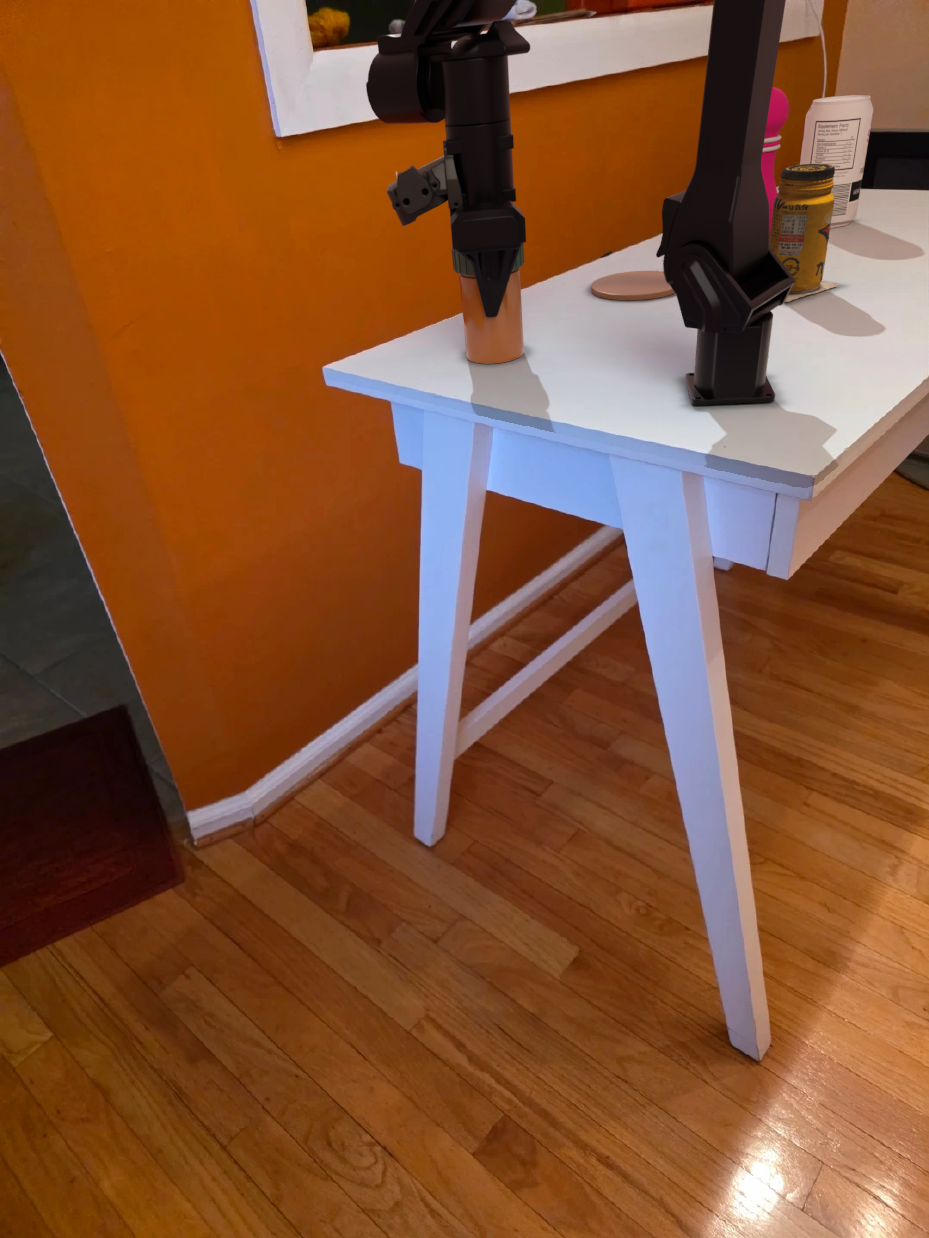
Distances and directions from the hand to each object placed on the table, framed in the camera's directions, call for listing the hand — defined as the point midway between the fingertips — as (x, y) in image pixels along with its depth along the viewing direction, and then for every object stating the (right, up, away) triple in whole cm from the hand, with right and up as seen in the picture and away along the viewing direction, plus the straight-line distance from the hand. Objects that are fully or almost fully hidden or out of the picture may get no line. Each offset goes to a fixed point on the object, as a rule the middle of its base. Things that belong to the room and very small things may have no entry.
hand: (489, 307), depth 80 cm
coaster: (+18, +9, +18) cm, 27 cm away
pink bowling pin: (+33, +15, +24) cm, 44 cm away
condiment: (+33, +6, +11) cm, 36 cm away
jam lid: (0, +5, -3) cm, 6 cm away
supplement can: (+48, +26, +36) cm, 66 cm away
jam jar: (+1, -4, +3) cm, 5 cm away
